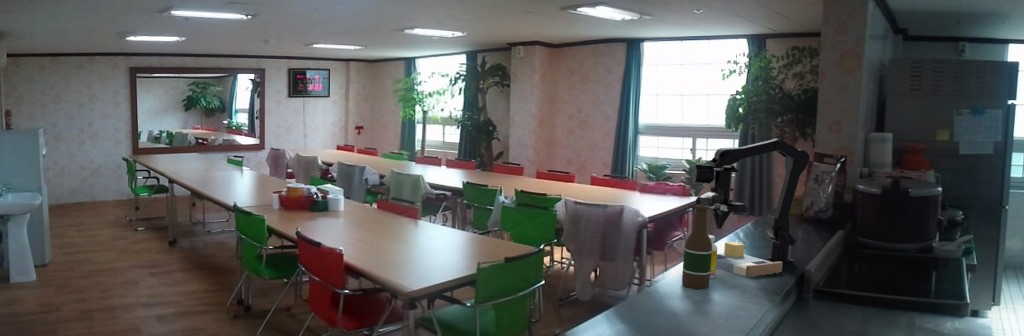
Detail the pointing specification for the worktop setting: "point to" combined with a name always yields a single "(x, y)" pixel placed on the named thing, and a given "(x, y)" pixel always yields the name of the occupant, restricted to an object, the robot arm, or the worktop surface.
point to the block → (734, 249)
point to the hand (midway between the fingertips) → (718, 228)
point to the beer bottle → (697, 253)
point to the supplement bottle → (713, 257)
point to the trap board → (747, 265)
